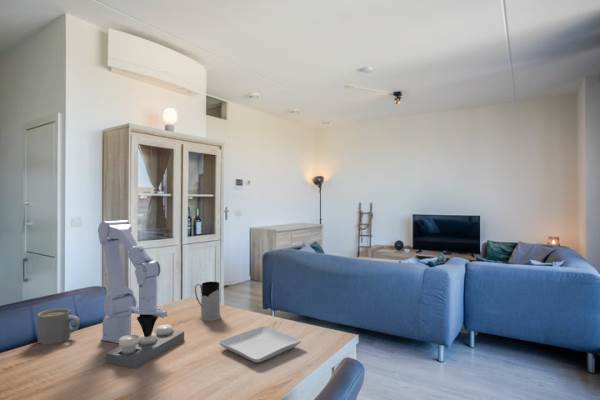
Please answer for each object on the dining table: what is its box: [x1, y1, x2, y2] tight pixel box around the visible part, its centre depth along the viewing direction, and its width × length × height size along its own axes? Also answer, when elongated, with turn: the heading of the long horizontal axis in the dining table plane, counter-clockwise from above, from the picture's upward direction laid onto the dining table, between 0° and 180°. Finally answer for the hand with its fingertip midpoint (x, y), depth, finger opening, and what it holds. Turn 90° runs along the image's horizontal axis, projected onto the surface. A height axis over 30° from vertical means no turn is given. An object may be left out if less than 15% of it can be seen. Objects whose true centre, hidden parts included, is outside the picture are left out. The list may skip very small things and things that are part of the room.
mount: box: [104, 328, 185, 369], centre depth 125 cm, size 12×24×3 cm, turn 161°
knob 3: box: [155, 324, 174, 336], centre depth 133 cm, size 6×6×5 cm
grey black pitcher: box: [194, 281, 222, 322], centre depth 160 cm, size 9×14×15 cm, turn 57°
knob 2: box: [138, 333, 157, 345], centre depth 125 cm, size 6×6×5 cm
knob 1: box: [118, 334, 139, 356], centre depth 117 cm, size 6×6×5 cm
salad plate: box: [218, 326, 302, 363], centre depth 127 cm, size 21×21×3 cm
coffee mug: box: [37, 307, 81, 345], centre depth 135 cm, size 13×10×10 cm
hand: (147, 336), depth 125 cm, fingers closed, pressing on knob 2
